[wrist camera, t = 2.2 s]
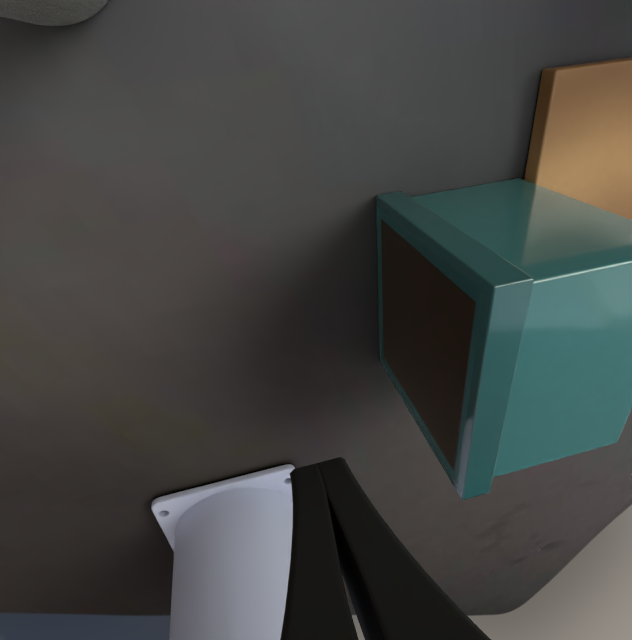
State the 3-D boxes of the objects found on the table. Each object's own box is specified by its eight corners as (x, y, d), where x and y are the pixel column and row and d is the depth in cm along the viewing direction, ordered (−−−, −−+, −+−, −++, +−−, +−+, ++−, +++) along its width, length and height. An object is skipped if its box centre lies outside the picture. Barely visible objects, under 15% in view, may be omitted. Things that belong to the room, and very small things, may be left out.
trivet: (663, 341, 26) (675, 349, 26) (488, 385, 25) (496, 394, 24) (798, 33, 18) (821, 32, 17) (541, 68, 16) (556, 69, 15)
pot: (493, 334, 23) (622, 454, 16) (378, 361, 22) (461, 501, 15) (520, 169, 18) (719, 238, 11) (375, 195, 17) (493, 286, 10)
